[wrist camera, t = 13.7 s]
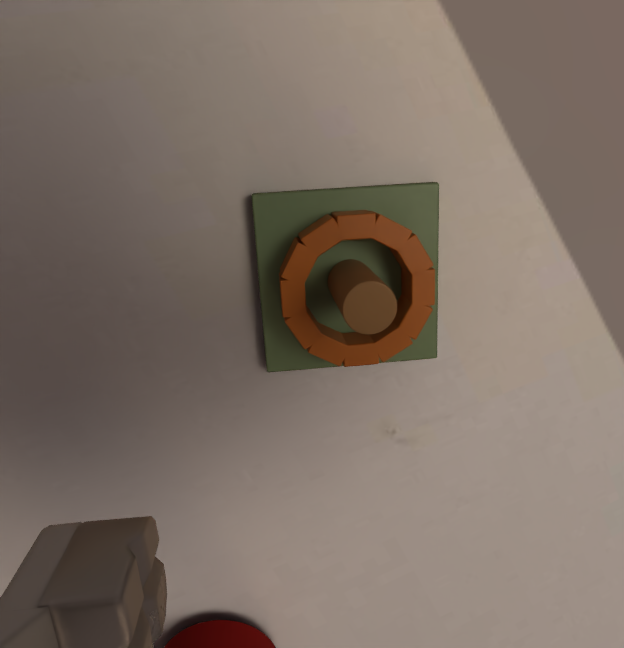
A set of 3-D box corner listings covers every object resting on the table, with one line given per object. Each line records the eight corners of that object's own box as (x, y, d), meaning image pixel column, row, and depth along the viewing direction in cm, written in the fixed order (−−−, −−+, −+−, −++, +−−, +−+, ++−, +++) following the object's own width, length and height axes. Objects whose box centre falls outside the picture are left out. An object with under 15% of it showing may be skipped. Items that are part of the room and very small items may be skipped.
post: (251, 193, 23) (247, 200, 18) (433, 181, 23) (483, 185, 18) (266, 367, 25) (267, 419, 20) (432, 352, 26) (475, 400, 20)
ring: (274, 216, 22) (275, 219, 21) (423, 205, 23) (435, 208, 21) (285, 358, 24) (286, 372, 22) (422, 346, 25) (434, 359, 23)
